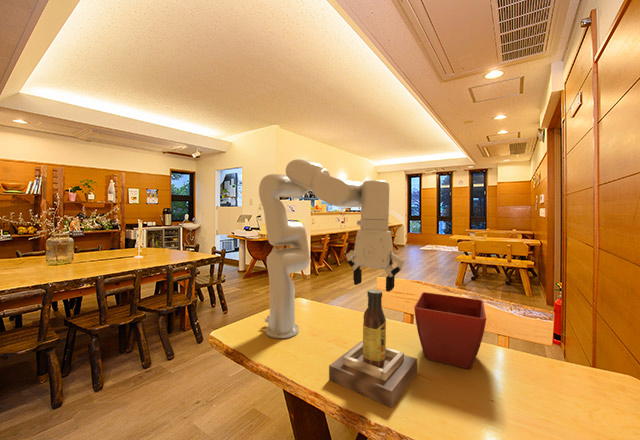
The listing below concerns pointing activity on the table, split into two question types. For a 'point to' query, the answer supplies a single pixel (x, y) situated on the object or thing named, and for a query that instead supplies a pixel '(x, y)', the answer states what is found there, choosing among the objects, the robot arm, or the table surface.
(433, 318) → the plant pot
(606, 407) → the table surface
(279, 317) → the robot arm
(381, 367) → the condiment stand
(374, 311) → the sauce bottle
